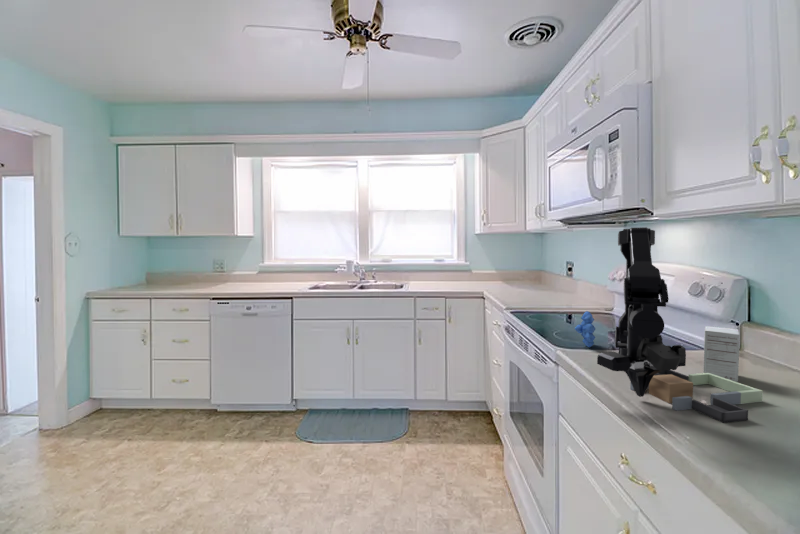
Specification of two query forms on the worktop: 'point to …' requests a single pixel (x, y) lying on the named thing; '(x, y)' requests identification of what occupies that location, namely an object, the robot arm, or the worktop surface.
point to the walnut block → (670, 387)
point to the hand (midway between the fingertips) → (640, 396)
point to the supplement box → (721, 352)
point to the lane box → (716, 397)
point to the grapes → (586, 329)
